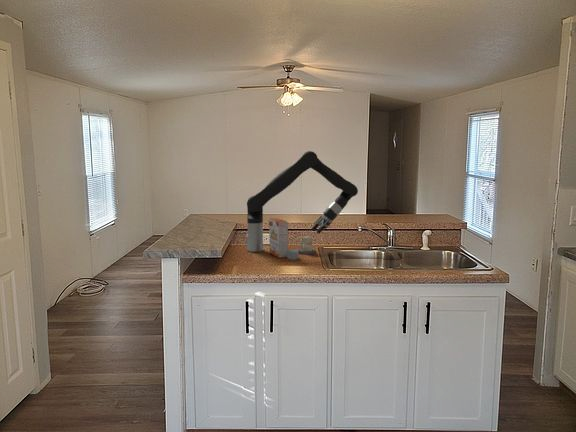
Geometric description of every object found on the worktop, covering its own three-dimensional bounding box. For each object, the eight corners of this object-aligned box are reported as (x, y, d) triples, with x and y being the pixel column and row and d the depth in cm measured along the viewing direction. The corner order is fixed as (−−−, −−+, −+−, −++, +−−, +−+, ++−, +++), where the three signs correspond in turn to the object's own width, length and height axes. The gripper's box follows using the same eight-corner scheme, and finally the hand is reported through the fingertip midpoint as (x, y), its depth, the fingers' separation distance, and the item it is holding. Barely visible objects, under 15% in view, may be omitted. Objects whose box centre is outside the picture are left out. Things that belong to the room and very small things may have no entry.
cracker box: (269, 253, 287) (268, 218, 284) (278, 252, 289) (278, 217, 286) (278, 258, 274) (278, 221, 271) (288, 257, 277) (288, 220, 274)
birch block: (300, 249, 290) (300, 236, 289) (308, 249, 291) (308, 236, 290) (303, 251, 285) (303, 238, 284) (311, 250, 287) (311, 237, 286)
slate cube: (287, 258, 273) (287, 251, 273) (292, 257, 277) (292, 249, 276) (293, 259, 271) (293, 252, 270) (298, 258, 274) (298, 250, 274)
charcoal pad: (295, 253, 288) (295, 250, 288) (303, 250, 294) (303, 248, 294) (308, 255, 282) (308, 252, 282) (316, 252, 289) (316, 250, 289)
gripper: (324, 205, 296) (306, 225, 294) (333, 208, 282) (315, 229, 280) (332, 214, 298) (314, 233, 296) (341, 217, 285) (323, 237, 283)
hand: (315, 231), depth 288 cm, fingers open, 8 cm apart
